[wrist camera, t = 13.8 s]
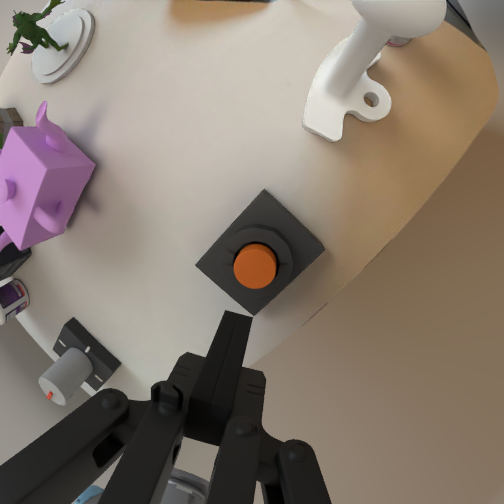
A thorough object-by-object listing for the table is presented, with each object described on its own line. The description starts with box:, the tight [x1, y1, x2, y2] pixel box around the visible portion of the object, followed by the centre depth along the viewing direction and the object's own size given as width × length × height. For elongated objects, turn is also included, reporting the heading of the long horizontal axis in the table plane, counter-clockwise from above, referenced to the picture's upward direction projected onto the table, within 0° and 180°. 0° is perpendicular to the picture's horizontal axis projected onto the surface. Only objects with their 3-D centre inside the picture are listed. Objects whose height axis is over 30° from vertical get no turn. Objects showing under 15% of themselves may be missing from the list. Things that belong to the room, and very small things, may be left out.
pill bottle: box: [0, 280, 29, 325], centre depth 32 cm, size 5×5×10 cm
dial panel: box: [53, 317, 121, 391], centre depth 36 cm, size 10×9×3 cm
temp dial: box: [39, 348, 93, 405], centre depth 31 cm, size 5×5×8 cm
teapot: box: [0, 101, 96, 252], centre depth 24 cm, size 15×13×11 cm
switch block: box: [195, 189, 325, 316], centre depth 27 cm, size 10×8×4 cm
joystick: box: [302, 0, 446, 142], centre depth 14 cm, size 11×8×20 cm
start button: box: [234, 244, 276, 289], centre depth 25 cm, size 4×4×2 cm
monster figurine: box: [7, 0, 94, 84], centre depth 19 cm, size 12×12×10 cm
